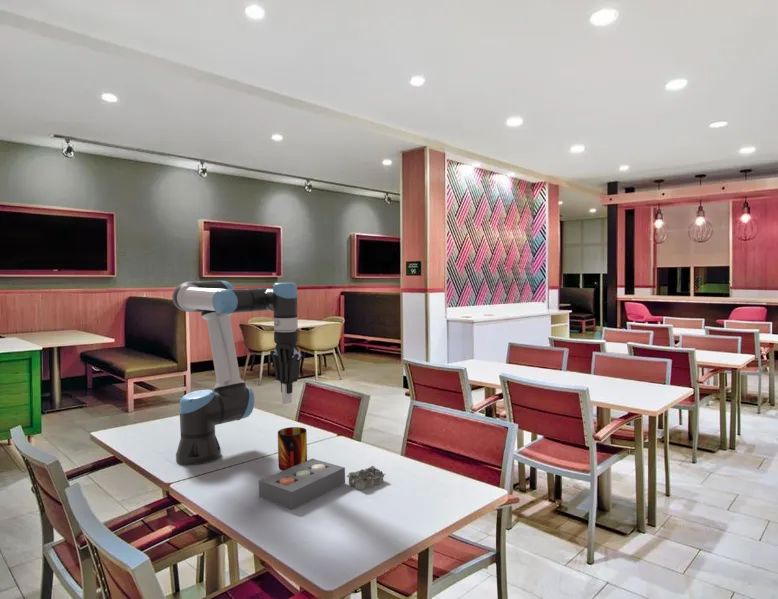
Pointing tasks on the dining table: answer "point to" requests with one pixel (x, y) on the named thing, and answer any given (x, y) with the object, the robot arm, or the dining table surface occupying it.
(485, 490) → the dining table surface
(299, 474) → the sage button
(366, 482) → the egg carton
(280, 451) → the mug
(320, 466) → the cream button
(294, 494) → the console
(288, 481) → the rust button
